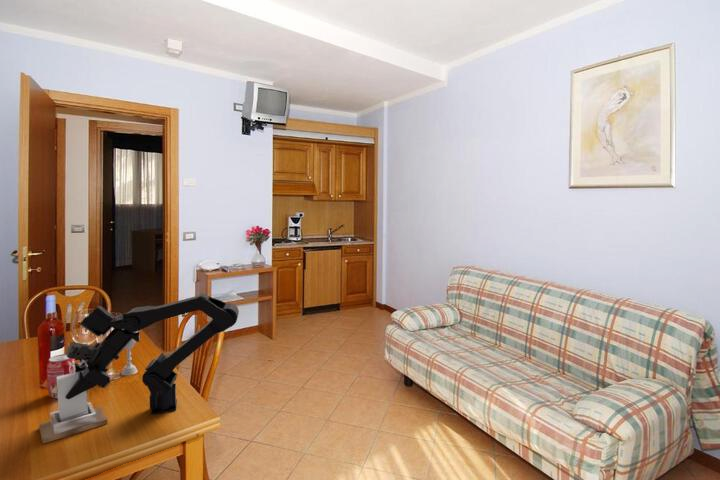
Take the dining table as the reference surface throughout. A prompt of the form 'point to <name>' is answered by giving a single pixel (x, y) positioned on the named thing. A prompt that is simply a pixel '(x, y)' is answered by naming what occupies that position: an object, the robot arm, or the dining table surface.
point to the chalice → (129, 360)
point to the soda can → (58, 371)
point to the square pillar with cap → (70, 406)
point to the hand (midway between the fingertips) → (66, 396)
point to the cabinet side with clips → (71, 424)
